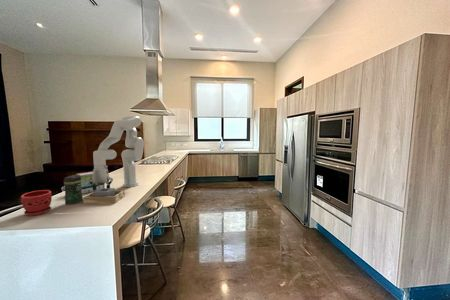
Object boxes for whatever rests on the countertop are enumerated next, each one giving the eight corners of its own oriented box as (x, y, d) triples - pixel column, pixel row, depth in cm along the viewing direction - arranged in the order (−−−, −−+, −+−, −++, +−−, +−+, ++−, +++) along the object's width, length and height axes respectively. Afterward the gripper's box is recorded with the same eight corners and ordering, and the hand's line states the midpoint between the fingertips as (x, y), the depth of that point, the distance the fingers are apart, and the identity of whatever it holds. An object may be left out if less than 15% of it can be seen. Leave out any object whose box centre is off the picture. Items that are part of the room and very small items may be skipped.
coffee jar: (75, 205, 132) (73, 177, 130) (62, 205, 132) (60, 177, 130) (85, 200, 142) (83, 173, 140) (73, 200, 141) (71, 174, 140)
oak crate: (96, 198, 146) (95, 191, 146) (124, 197, 147) (124, 190, 147) (83, 205, 132) (83, 197, 132) (115, 204, 133) (115, 196, 133)
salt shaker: (100, 194, 154) (99, 181, 153) (106, 194, 155) (106, 181, 154) (97, 196, 150) (96, 183, 149) (103, 196, 150) (102, 182, 149)
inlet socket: (102, 198, 144) (101, 188, 143) (115, 197, 144) (114, 188, 144) (94, 202, 135) (93, 192, 134) (108, 202, 136) (108, 191, 135)
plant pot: (16, 217, 115) (13, 196, 114) (40, 208, 128) (38, 189, 127) (36, 218, 113) (34, 197, 112) (58, 209, 126) (56, 190, 125)
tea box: (81, 194, 155) (80, 175, 154) (77, 192, 161) (75, 173, 160) (103, 189, 167) (101, 171, 166) (97, 187, 173) (96, 170, 172)
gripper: (114, 166, 154) (115, 188, 156) (91, 166, 153) (92, 189, 155) (109, 168, 147) (111, 191, 148) (84, 168, 146) (86, 192, 148)
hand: (101, 190), depth 152 cm, fingers open, 9 cm apart
